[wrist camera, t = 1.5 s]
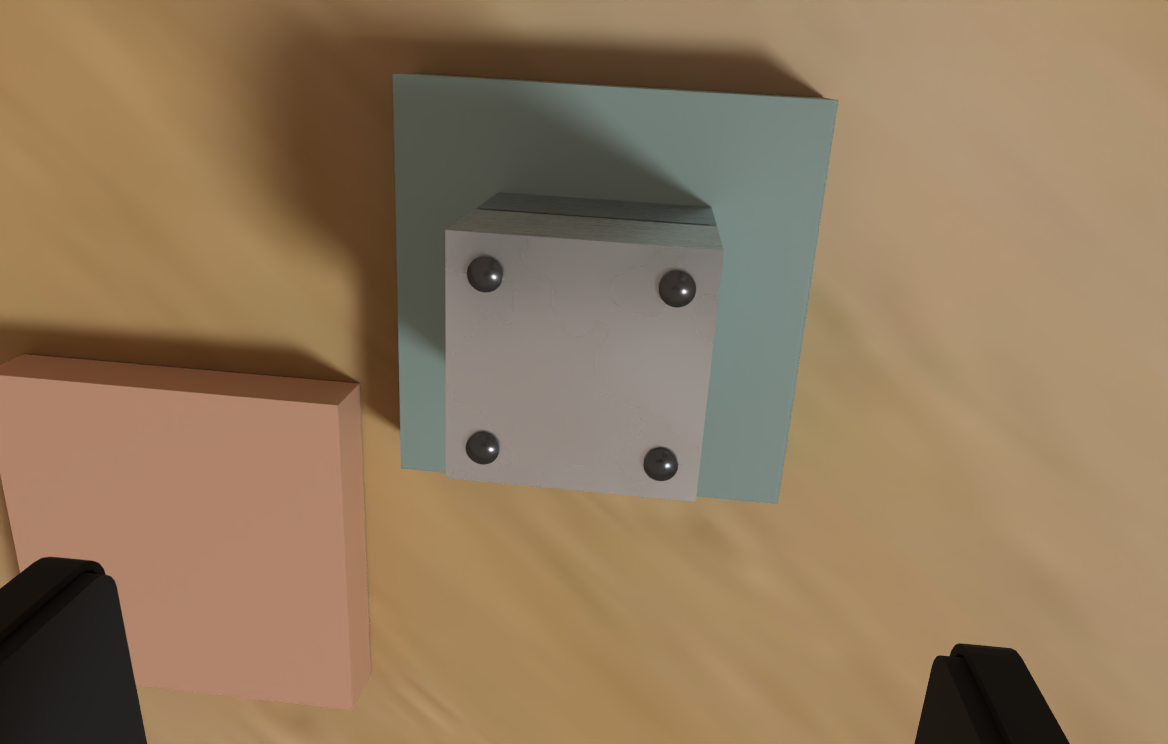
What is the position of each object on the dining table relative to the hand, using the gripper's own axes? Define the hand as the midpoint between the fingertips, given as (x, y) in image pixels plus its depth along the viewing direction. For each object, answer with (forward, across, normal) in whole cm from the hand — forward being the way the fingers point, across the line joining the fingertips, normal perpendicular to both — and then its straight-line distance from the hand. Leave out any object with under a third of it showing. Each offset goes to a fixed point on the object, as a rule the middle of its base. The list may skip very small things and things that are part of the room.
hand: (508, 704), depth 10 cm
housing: (+16, 0, 0) cm, 16 cm away
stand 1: (+18, +15, +10) cm, 25 cm away
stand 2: (+18, 0, 0) cm, 18 cm away
